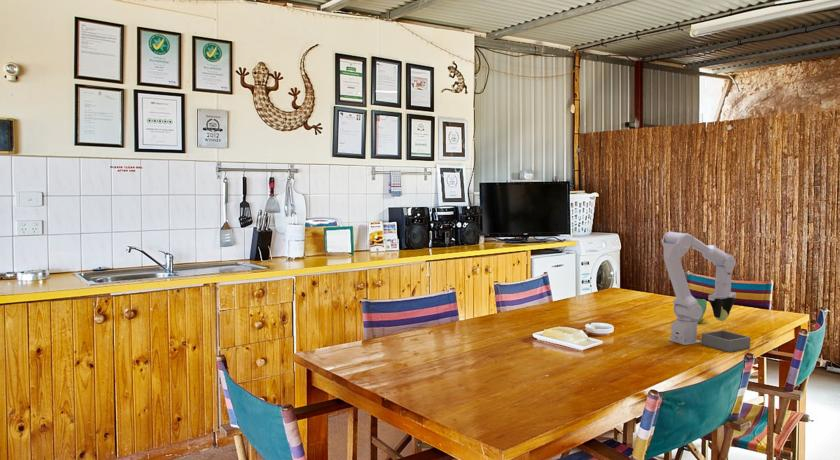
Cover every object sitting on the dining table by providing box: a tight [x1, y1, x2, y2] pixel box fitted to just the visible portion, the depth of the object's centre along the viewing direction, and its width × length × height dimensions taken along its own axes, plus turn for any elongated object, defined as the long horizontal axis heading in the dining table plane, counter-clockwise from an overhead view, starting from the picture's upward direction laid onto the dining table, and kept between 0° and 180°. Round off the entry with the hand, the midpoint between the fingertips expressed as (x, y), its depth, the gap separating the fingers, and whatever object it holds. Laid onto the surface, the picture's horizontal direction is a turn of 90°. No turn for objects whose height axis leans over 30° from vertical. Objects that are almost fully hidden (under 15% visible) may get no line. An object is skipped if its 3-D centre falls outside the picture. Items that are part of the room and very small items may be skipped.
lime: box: [714, 309, 729, 322], centre depth 254 cm, size 5×5×5 cm
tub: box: [700, 329, 751, 354], centre depth 241 cm, size 12×12×4 cm
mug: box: [695, 298, 708, 325], centre depth 283 cm, size 15×10×10 cm
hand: (721, 316), depth 254 cm, fingers closed on lime, 5 cm apart
